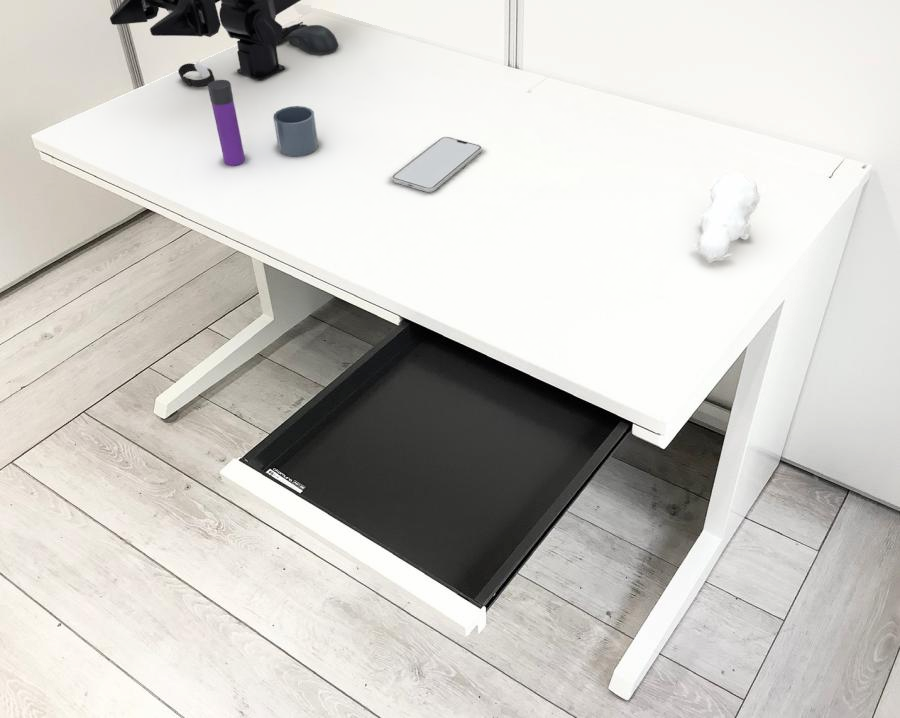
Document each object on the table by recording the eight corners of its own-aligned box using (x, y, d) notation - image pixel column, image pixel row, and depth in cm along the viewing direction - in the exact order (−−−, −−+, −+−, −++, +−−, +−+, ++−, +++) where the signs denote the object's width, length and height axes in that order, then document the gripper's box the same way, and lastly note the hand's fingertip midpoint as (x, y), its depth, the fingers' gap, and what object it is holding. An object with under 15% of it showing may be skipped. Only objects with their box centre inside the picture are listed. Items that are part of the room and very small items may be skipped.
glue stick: (235, 153, 140) (220, 77, 132) (249, 159, 139) (234, 82, 130) (219, 162, 138) (202, 85, 130) (233, 168, 137) (217, 90, 129)
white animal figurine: (767, 172, 114) (741, 225, 107) (756, 225, 120) (730, 279, 113) (718, 161, 116) (689, 212, 109) (709, 214, 122) (681, 266, 115)
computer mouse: (314, 62, 167) (311, 41, 164) (263, 44, 174) (259, 24, 172) (352, 45, 173) (350, 25, 170) (301, 28, 180) (298, 9, 177)
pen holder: (298, 134, 145) (294, 102, 141) (326, 144, 142) (322, 112, 138) (270, 149, 141) (265, 117, 137) (298, 160, 138) (293, 127, 134)
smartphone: (389, 177, 132) (443, 135, 141) (389, 181, 132) (443, 139, 142) (431, 190, 129) (483, 146, 138) (431, 194, 129) (484, 150, 139)
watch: (222, 82, 161) (218, 63, 159) (202, 92, 158) (198, 72, 156) (193, 73, 164) (189, 54, 162) (173, 82, 162) (169, 62, 159)
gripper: (148, -71, 145) (72, -36, 136) (231, -54, 137) (156, -16, 128) (168, -3, 153) (98, 34, 144) (248, 17, 145) (178, 57, 136)
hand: (131, 26), depth 138 cm, fingers open, 9 cm apart
